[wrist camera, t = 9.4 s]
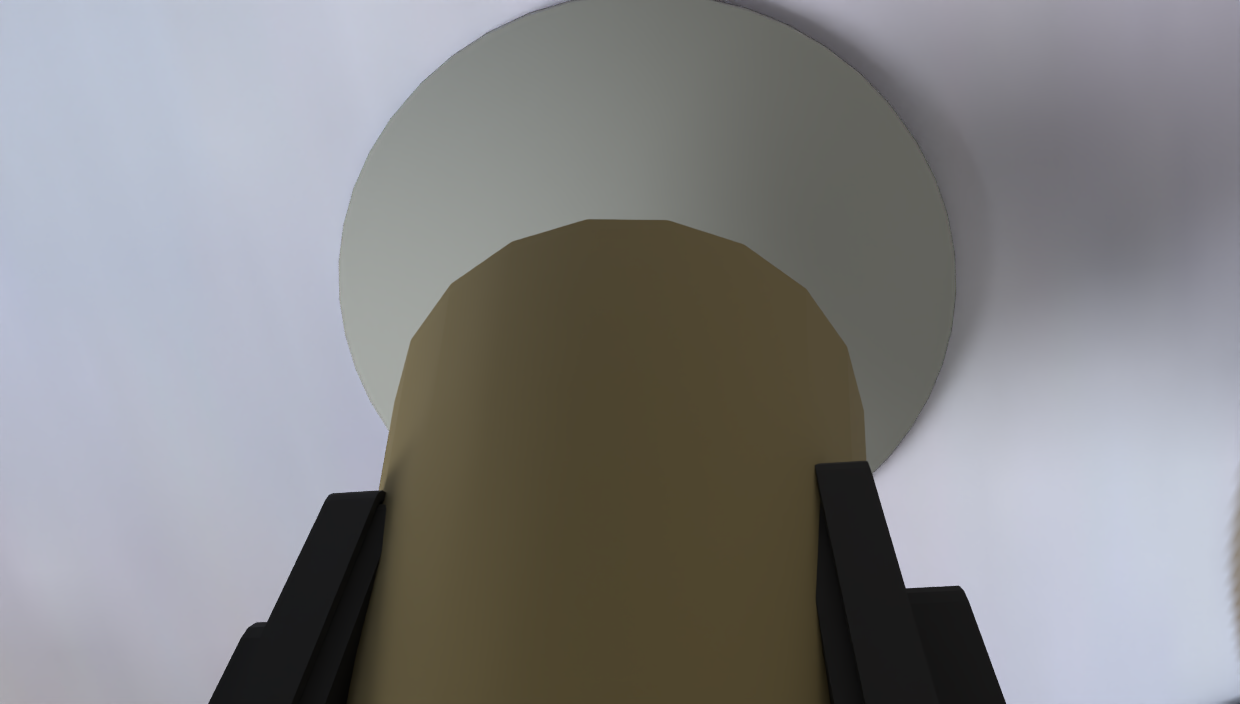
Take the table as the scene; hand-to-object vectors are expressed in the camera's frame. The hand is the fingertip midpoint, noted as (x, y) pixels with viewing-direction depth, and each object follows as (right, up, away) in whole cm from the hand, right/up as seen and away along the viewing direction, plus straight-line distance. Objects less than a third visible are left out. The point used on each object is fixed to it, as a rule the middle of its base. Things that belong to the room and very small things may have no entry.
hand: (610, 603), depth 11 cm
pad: (0, +3, +7) cm, 8 cm away
